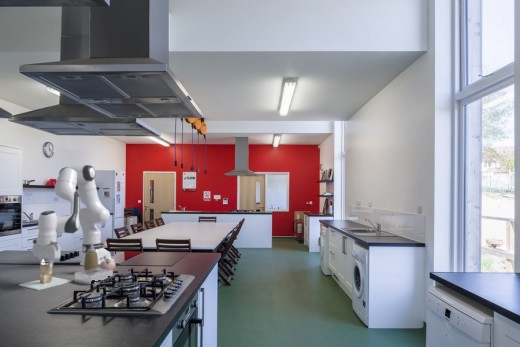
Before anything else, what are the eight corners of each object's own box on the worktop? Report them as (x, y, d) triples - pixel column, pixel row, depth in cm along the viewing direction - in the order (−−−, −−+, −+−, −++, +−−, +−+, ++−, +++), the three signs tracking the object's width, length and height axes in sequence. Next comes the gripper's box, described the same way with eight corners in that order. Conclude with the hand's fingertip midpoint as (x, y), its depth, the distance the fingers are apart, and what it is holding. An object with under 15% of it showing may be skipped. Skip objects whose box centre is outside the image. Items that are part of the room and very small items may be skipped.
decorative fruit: (117, 274, 205) (118, 257, 206) (104, 276, 199) (104, 259, 200) (111, 271, 212) (111, 255, 212) (97, 274, 206) (98, 257, 206)
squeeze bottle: (101, 271, 212) (101, 242, 213) (90, 274, 205) (91, 244, 206) (91, 270, 215) (91, 242, 216) (80, 273, 207) (81, 244, 208)
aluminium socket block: (96, 275, 201) (97, 267, 202) (112, 278, 195) (112, 270, 195) (74, 281, 189) (74, 272, 189) (90, 284, 182) (90, 275, 183)
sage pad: (52, 277, 197) (52, 276, 197) (71, 281, 188) (71, 280, 189) (18, 285, 181) (18, 284, 181) (38, 290, 173) (38, 289, 173)
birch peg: (47, 281, 187) (47, 263, 188) (51, 282, 186) (52, 263, 186) (39, 283, 184) (40, 264, 184) (44, 283, 182) (44, 265, 183)
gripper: (64, 241, 184) (63, 266, 183) (42, 238, 193) (41, 263, 193) (52, 242, 178) (51, 269, 178) (30, 240, 188) (29, 265, 187)
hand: (46, 266), depth 185 cm, fingers open, 6 cm apart
